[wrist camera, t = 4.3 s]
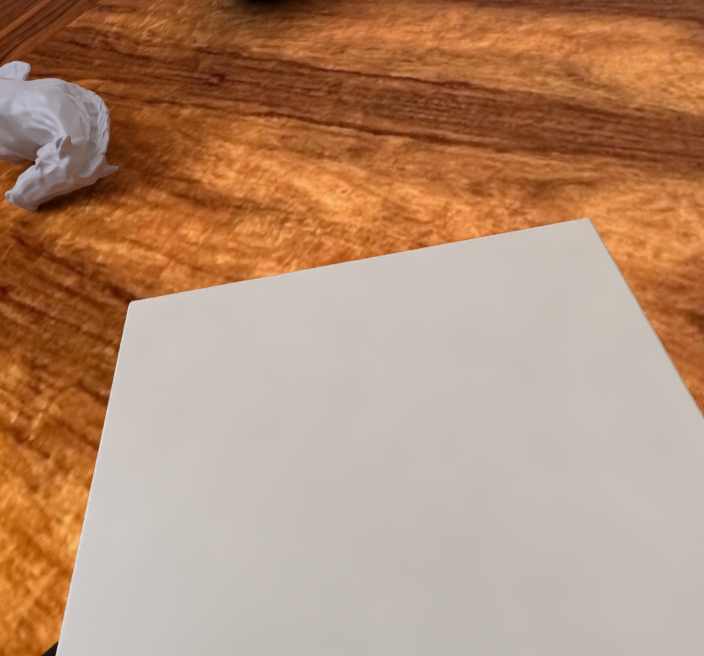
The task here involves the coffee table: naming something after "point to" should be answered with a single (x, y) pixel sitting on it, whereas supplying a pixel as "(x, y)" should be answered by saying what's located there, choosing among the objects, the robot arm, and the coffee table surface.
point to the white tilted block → (398, 465)
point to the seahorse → (51, 135)
